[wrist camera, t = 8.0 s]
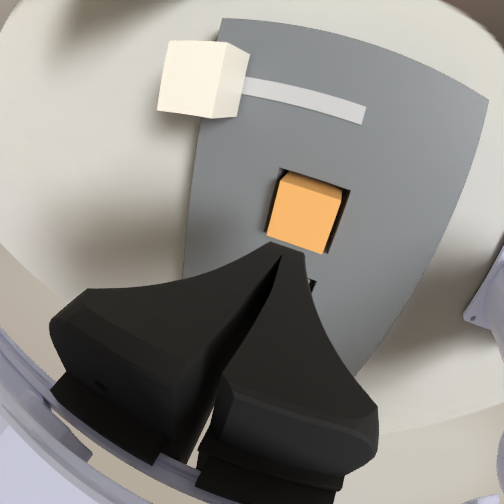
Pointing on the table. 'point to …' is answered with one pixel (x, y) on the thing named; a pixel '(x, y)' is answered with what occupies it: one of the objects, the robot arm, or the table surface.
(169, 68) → the block
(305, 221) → the orange button
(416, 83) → the control panel
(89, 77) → the table surface
